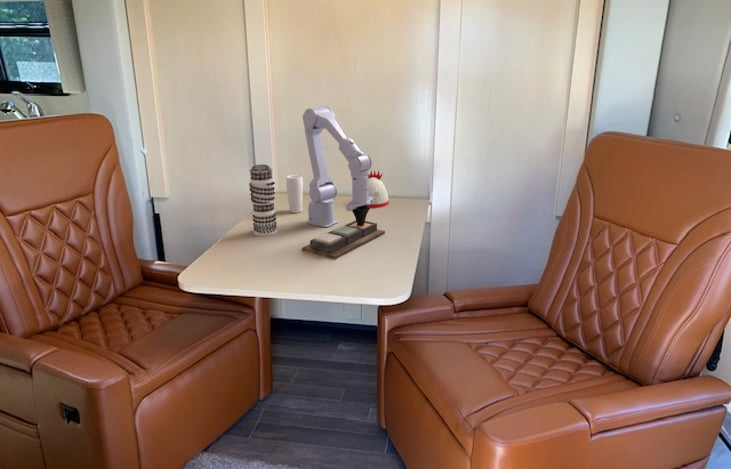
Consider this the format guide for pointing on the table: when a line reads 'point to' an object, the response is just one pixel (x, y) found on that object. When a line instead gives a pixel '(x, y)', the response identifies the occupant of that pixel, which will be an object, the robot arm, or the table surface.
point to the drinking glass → (295, 192)
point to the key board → (344, 241)
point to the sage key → (345, 230)
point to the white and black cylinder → (263, 200)
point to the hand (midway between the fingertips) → (360, 225)
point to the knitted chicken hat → (377, 191)
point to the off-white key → (328, 238)
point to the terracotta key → (361, 226)
